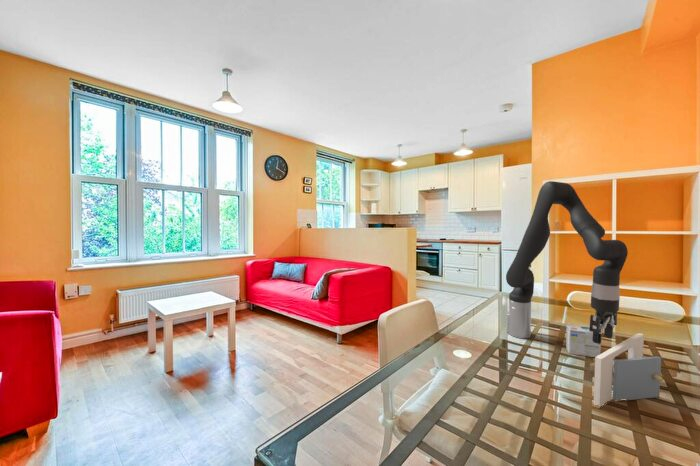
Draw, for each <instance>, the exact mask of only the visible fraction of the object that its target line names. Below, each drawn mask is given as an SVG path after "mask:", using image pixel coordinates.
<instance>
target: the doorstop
mask: <svg viewBox="0 0 700 466" xmlns="http://www.w3.org/2000/svg"><path fill="white" fill-rule="evenodd" d="M588 376H589V377H591V378H593V377H595V361H594V362H592V363H590V364H589V375H588ZM613 378H614V368H613V369H612V387H613Z"/></svg>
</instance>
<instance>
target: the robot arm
mask: <svg viewBox="0 0 700 466" xmlns="http://www.w3.org/2000/svg"><path fill="white" fill-rule="evenodd" d="M553 205H560V206H562V207H563V208H565V209H566V210H567V212H568V213H569V215H570V217H569V218H570V224H571V226H572V228H573V229H574V230H575V232H576V233H577V234H578V235H579V236H580V238H581V239H582V241H583V244H584V245H585V248H586V251H587V252H586V253H588V255H589V256H590V257H591V258H593V259H594V260H596V261H603V263H602V264H601V265H597V266H595V267H594V269H593V272H592V284H591V292H590V293H591V294H590V307H591V308H592V309H594V310H595V313H594V314H590V317H589V318H590V319H589V327H590V328H589V331H591V332H593V342H594V343H597V344H601V345H602V335H604V337H605V338H607V339H612V338H613V337H614V328H615V326H617V324H618V312H619V310H620V298H621V297H620V295H621V294H620V293H621V290H620V279H621V277H620V276H621V272H622V271H623V268H624V265H625V263H626V260H627V258H628V246H627V245H626V244H625V243H624V241H622V240H619V239H602V238H604V236H605V234H606V230H605V229H604V227H603V226H602V225H601V224H600V223H599V222H598V221H597V219H595V217H593V215H592V214H591V213H590V212H589V211H588V209H587V208H586V206H585V204H584V203H583V201H582V200H581V198H580V197H579V195H578V192H576V190H575V188H574V187H573V186H572V185H571V184H570V183H567V182H561V181H551V180H550V181H546V182H545V183H543V185H542V186H541V188H540V189H539V192H538V195H537V198H536V202H535V205H534V209H533V212H532V215H531V217H530V220H529V223H528V224H527V227H526V230H525V231H524V235H523V237H522V240H521V243H520V245H519V248H518V250H517V252H516V255H515V257H514V258H513V260H512V263H511V264H510V267H509V268H508V270H507V271H506V274H505V275H506V276H505V279H506V283H507V284H508V286H510V287H511V288H513V289H512V290H511V291H510V292H509V294H508V313H507V314H506V333H508V334H509V335H510V336H512V337H515V338H518V339H529V338H531V335H532V334H531V333H532V332H531V331H532V330H531V329H532V328H531V327H532V324H531V323H532V297H533V295H534V287H535V276H534V273H533V271H532V269H530V267H531V265H532V263H533V262H534V260H535V259H536V258H538V256H540V254H541V253H542V252H543V250H544V248H545V247H546V245H547V243H548V240H549V239H550V236H551V228H550V223H549V215H550V211H551V208H552V206H553ZM603 331H604V332H603ZM602 333H604V334H602Z"/></svg>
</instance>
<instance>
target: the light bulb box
mask: <svg viewBox="0 0 700 466" xmlns="http://www.w3.org/2000/svg"><path fill="white" fill-rule="evenodd" d="M565 325H566V326H565V328H566V329H565V333H566V334H565V335H566V336H565V338H566V339H565V348H566V350H567V353H568V354H570V355H577V356H584V357H591V358H595V357H596V356H598V355H600V354H602V352H601V349H602V348H601V347H602V346H601V345H602V343H601V344H597V343H594V342H593V332H591V331H589V328H590V326H586V325H575V324H568V323H567V324H565Z"/></svg>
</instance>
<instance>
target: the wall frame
mask: <svg viewBox="0 0 700 466" xmlns="http://www.w3.org/2000/svg"><path fill="white" fill-rule="evenodd" d="M644 338H645V334H644V333H640V332H639V333H636V334H634V335H631V336H630V337H629V338H627V339H625V340H623V341H622V342H620V343H618V344H616V345H613V347H611V348H609V349H607V350H605V351H604V352H601V353H600V355H598V356H596V357H594V362H595V377H594V378H593V404H594V405H599V406H601V405H603V404H604V403H605V402H607V401H609V402H610V400H611V401H612V394H613V386H612V369H613V370H614V359H615V358H616V357H618V356H619V355H621V354H623V353H624V352H626V351H627V350H628V351H627V359H631V358H642V357H644V344H645V343H644V341H645V339H644Z"/></svg>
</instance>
